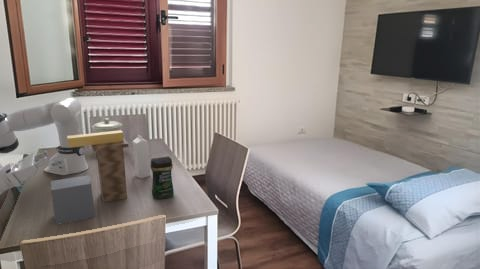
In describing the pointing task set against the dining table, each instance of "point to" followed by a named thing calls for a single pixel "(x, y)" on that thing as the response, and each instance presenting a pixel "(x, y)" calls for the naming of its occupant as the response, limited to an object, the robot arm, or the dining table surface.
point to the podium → (72, 199)
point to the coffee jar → (162, 177)
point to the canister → (106, 126)
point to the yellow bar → (95, 138)
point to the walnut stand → (111, 170)
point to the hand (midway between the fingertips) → (47, 155)
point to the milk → (141, 157)
